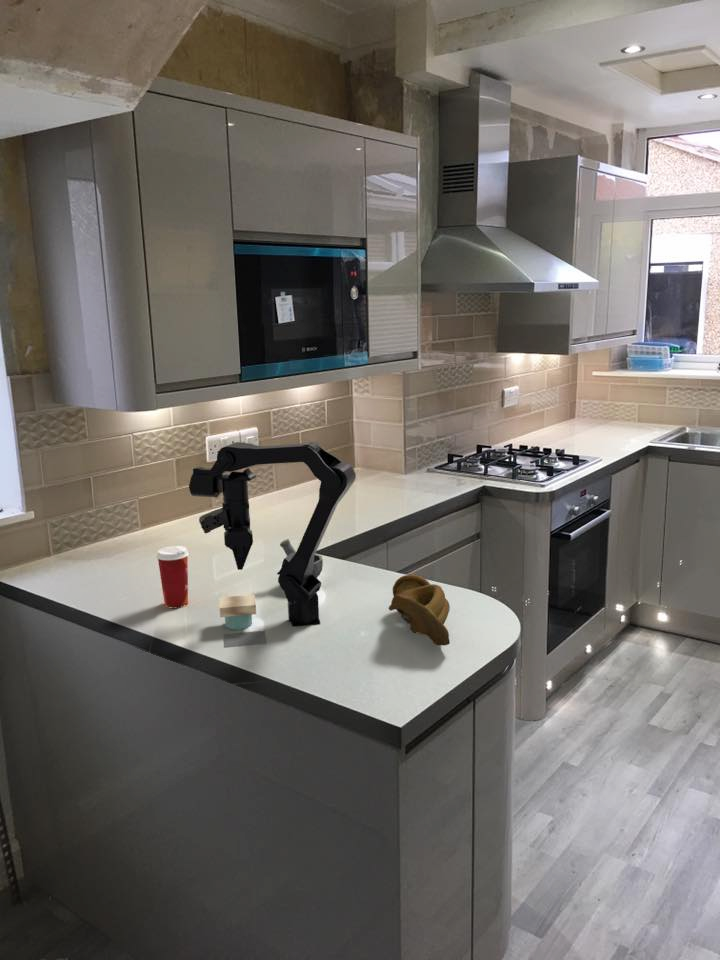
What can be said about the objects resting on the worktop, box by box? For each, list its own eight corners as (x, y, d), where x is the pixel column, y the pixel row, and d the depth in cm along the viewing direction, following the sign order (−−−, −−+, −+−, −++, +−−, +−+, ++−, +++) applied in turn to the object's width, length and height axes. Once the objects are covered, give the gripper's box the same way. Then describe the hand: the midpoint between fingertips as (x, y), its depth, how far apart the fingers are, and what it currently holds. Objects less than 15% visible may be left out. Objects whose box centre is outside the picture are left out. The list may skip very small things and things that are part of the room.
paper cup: (198, 603, 193) (194, 549, 190) (172, 612, 188) (168, 557, 185) (179, 595, 198) (175, 543, 195) (153, 604, 193) (149, 550, 190)
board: (255, 603, 182) (254, 594, 181) (256, 614, 175) (255, 604, 175) (220, 606, 180) (219, 597, 180) (220, 617, 174) (219, 608, 174)
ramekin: (251, 619, 182) (250, 603, 182) (252, 630, 177) (251, 613, 176) (225, 622, 181) (224, 606, 181) (225, 632, 176) (224, 616, 175)
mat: (264, 632, 175) (264, 630, 175) (266, 645, 169) (266, 643, 168) (224, 635, 174) (223, 634, 174) (224, 649, 167) (224, 647, 167)
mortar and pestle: (327, 578, 209) (325, 535, 206) (319, 591, 200) (317, 546, 197) (286, 576, 211) (284, 534, 208) (276, 589, 202) (274, 544, 199)
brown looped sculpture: (353, 613, 166) (383, 565, 185) (375, 665, 169) (403, 611, 188) (433, 598, 158) (456, 549, 177) (455, 652, 161) (475, 598, 180)
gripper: (200, 491, 186) (205, 553, 190) (199, 510, 168) (203, 579, 172) (247, 488, 188) (251, 550, 192) (251, 507, 170) (254, 575, 174)
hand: (239, 563), depth 182 cm, fingers open, 9 cm apart
